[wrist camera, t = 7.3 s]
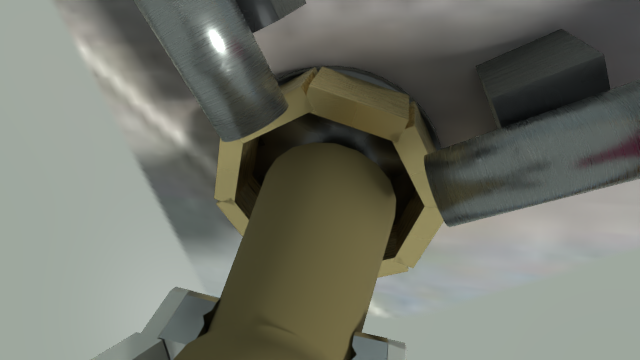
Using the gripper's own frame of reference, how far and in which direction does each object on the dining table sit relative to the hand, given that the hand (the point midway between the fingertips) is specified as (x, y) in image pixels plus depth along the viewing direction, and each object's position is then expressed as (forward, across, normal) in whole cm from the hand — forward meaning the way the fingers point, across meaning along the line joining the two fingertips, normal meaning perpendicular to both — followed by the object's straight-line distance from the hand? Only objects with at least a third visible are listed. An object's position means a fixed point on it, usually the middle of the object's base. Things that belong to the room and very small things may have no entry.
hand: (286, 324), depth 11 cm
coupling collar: (+9, 0, 0) cm, 9 cm away
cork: (+6, 0, 0) cm, 7 cm away
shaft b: (+9, -6, -5) cm, 12 cm away
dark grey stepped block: (+9, +4, -7) cm, 12 cm away
